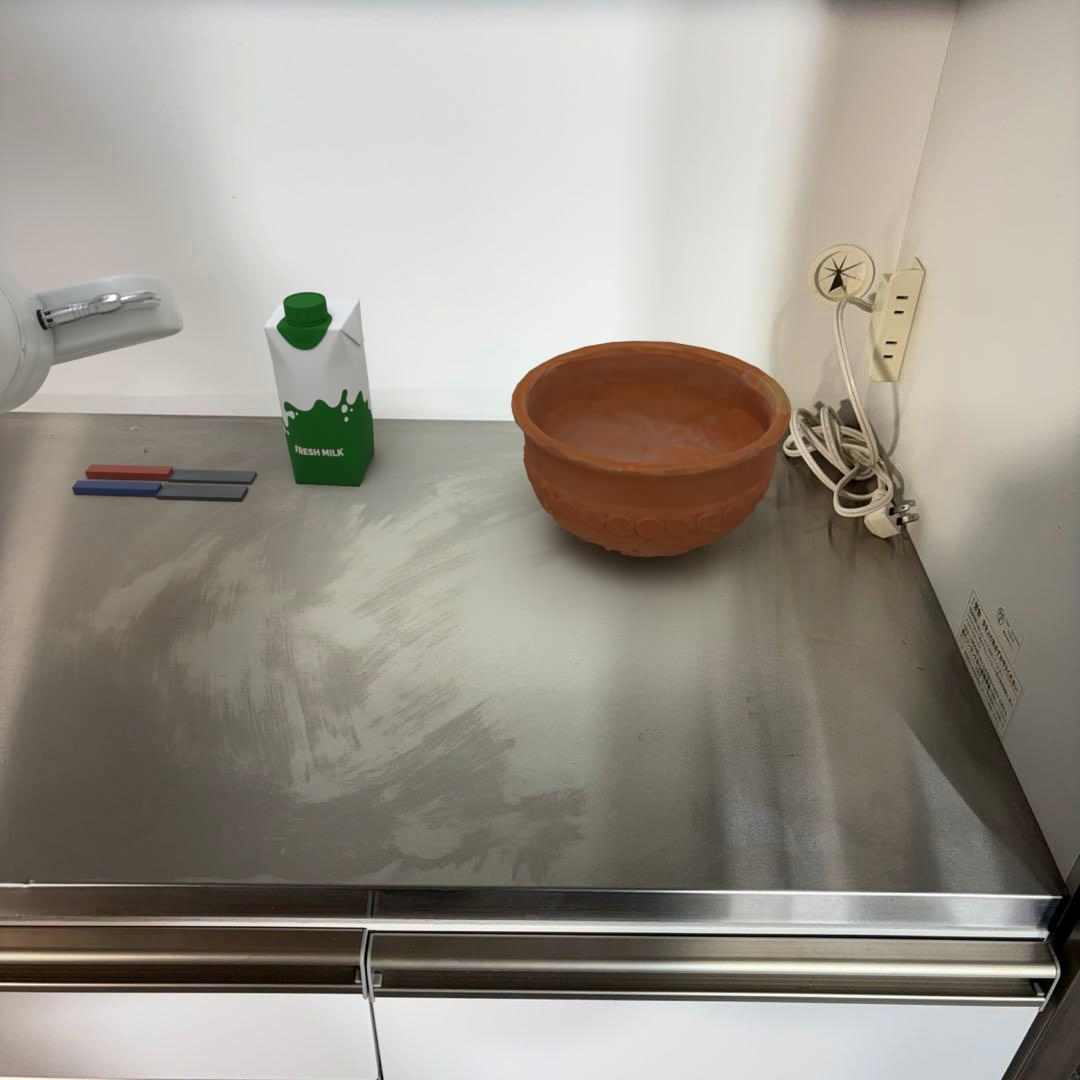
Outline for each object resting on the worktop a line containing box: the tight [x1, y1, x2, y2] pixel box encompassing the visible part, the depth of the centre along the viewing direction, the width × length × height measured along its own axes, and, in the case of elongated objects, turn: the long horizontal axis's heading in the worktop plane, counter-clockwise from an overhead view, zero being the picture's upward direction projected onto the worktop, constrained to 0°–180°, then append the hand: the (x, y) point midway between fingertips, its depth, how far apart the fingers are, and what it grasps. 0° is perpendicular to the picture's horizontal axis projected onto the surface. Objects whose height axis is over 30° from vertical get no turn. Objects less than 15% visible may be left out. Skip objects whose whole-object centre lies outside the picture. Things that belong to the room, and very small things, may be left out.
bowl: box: [510, 340, 792, 558], centre depth 91 cm, size 25×25×15 cm
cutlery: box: [71, 464, 258, 502], centre depth 102 cm, size 18×5×1 cm, turn 87°
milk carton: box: [263, 291, 375, 487], centre depth 100 cm, size 9×9×20 cm
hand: (57, 344), depth 68 cm, fingers closed
